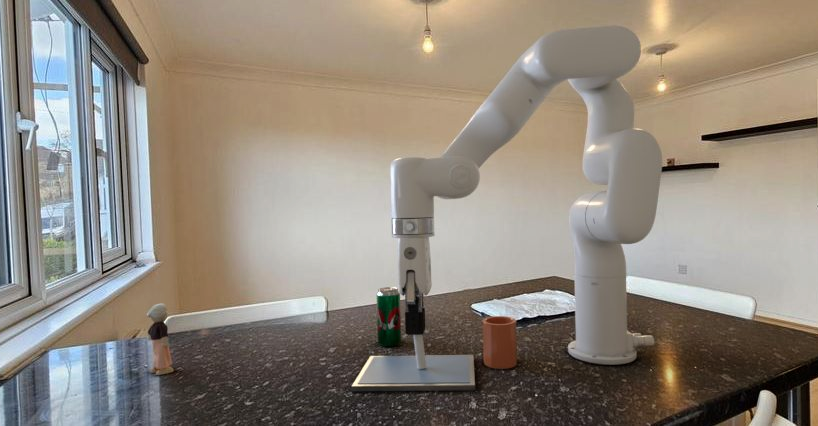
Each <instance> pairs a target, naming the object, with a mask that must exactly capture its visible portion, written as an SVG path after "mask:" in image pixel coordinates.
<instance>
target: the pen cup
mask: <svg viewBox="0 0 818 426" xmlns="http://www.w3.org/2000/svg"><path fill="white" fill-rule="evenodd" d="M517 339H518V337H517V319H516V318H514V317H511V316H507V315H506V316H504V315H494V316H493V315H492V316H488V317H485V318H483V319H482V350H483V353H482V355H483V364H484V366H486V367H488V368H490V369H496V370H507V369H511V368H515V367H516V366H517V365H518V340H517Z"/></svg>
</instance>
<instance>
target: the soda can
mask: <svg viewBox="0 0 818 426" xmlns="http://www.w3.org/2000/svg"><path fill="white" fill-rule="evenodd" d="M401 321H402V315H401V294H400V291H399V287H395V286H387V287H380V288H378V291H377V293H376V327H377V343H378V345H379V346H380V347H383V348H384V347H385V348H392V347H397V346H398V345H399V344H401V342H402V322H401Z"/></svg>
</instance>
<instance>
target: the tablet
mask: <svg viewBox="0 0 818 426" xmlns="http://www.w3.org/2000/svg"><path fill="white" fill-rule="evenodd" d="M425 359H426V368H424V369H418V368H417V361H416V355H370V356H369V358H368V359H367V361H366V362H365V364H364V365H363V367H362V369H361V370H360V372H359V374H358V375H357V376H356V378H355V380H354V381H353V383H352V385H351V392H354V393H355V392H439V391H440V392H445V391H447V392H450V391H460V392H461V391H476V378H475V377H476V376H475V361H474V359H475V358H474V354H434V355H432V354H428V355H427V354H425Z"/></svg>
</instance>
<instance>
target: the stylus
mask: <svg viewBox="0 0 818 426" xmlns="http://www.w3.org/2000/svg"><path fill="white" fill-rule="evenodd" d="M412 337H413V344H414V352H415V356H416V361H417V368H418V369H424V368H426V359H425V355H426V354H425V353H426V352H425V345H424V338H423V337H424V336H423V335H412Z"/></svg>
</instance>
